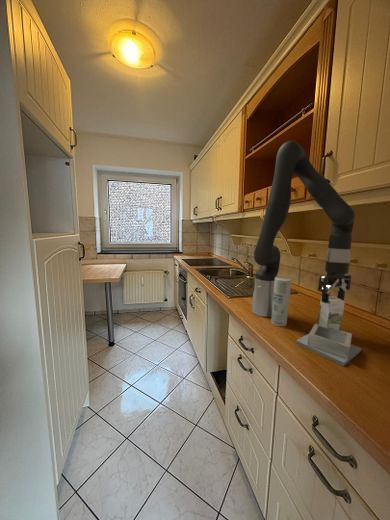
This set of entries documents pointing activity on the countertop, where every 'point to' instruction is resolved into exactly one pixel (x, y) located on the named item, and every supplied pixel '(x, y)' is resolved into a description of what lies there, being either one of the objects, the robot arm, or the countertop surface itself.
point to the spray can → (281, 301)
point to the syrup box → (331, 313)
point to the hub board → (337, 359)
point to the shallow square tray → (330, 340)
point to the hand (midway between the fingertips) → (332, 301)
